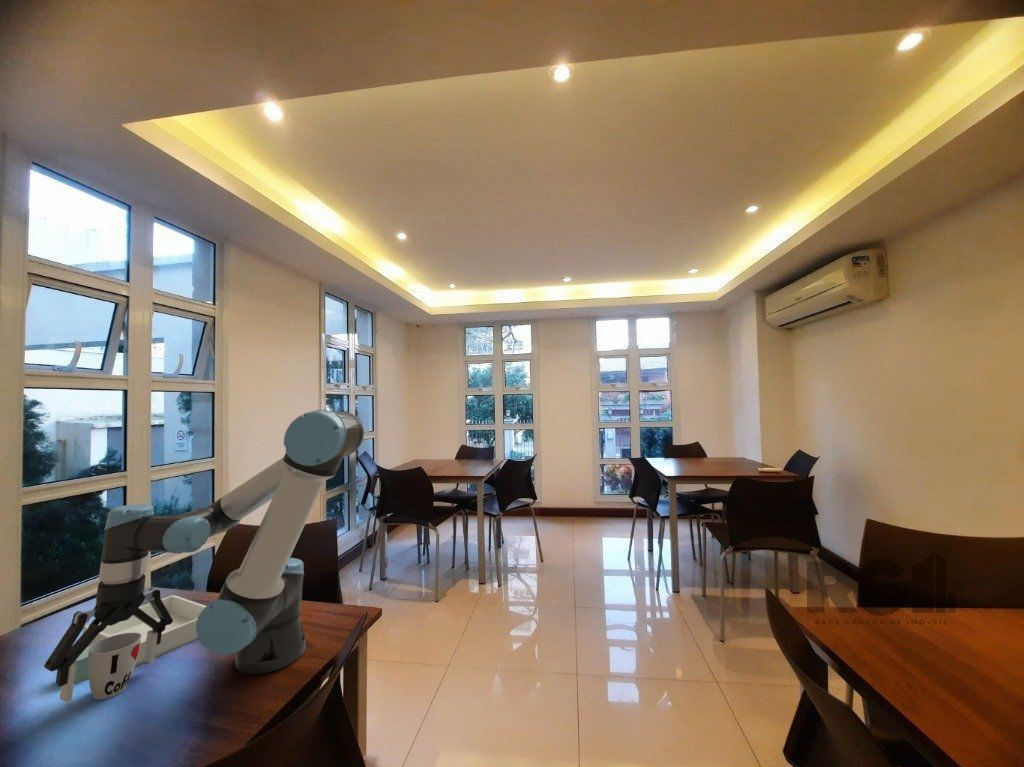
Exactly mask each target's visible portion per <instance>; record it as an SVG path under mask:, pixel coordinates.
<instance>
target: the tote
mask: <svg viewBox="0 0 1024 767" xmlns="http://www.w3.org/2000/svg"><path fill="white" fill-rule="evenodd" d="M160 599H161V600H162V602H163V604H164V606H165V607H166V609H167V611H168V613H169V614H170V616H171V618H172V619H173V622H172V623H171V624H170V625H167V626H165V630H164V631H163V632H162V634H161V642H160V644H158V645H156V653H155V659H156V658H157V657H158V658H159V657H160V656H162V655H165V654H166V653H168V652H172V651H173V650H176V649H178V648H180V647H182V646H184V645H186V644H188V643H191V642H193V641H194V640H197V639H200V638H199V637H198V636H197V632H196V623H197V619H198V616H199V614H200V613H201V611H202V610H203V609H204V608H205V607H206V606H207V605H205V604H201V603H198V602H196V601H194V600H190V599H187V598H183V597H181V596H179V595H175V594H172V595H169V596H167V597H163V598H160ZM139 608H140V609H141V610H142V611H144V612H145V613H146V614H147V615H149V616H150V617H152V618H153V619H154V620H156V621H157V622H159V621H160V619H159V617H158V615H157V614H156V612H155V610H154V609H153V607H152V605H151V604H150V602H149V603H147V604H143V605H140V607H139ZM90 624H91V623H89V624H85V626H84V628H83V630H82V634H83V633H84V632H85V631H86V630H87V629H88V627H89V625H90ZM100 624H101V622H100V623H99V625H100ZM150 630H153V629H152V628H151V627H149V626H148V625H146V624H145V623H143V622H142V621H141V620H139V619H138V618H136V617H135V616H133V615H132V616H131V617H130V618H129V619H128V620H125V621H120V622H118V623H116V624H114V625H112V626H110V625H108V626H107V627H106V628H105V629H104V630H103V631H102V632H100V633H99V634H98V635H97V636H96V637H95V639H94V640H93V641H92V642H91V643H90V644H89V645H88V647H89V646H91V645H93V644H95V643H97V642H99V641H101V640H103V639H105V638H108V637H111V636H114V635H118V634H123V633H131V632H135V633H139V634H141V640H140V646H139V652H138V657H137V660H136V664H135V667H134V668H136V667H138V666H140V665H143V664H145V663H147V662H146V661H144V655H145V646H146V638H147V631H150Z"/></svg>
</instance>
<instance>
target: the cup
mask: <svg viewBox="0 0 1024 767" xmlns="http://www.w3.org/2000/svg"><path fill="white" fill-rule="evenodd" d="M140 640H141V634H139V633H135V632H131V633H123V634H118V635H114V636H111V637H108V638H105V639H103V640H101V641H99V642H97V643H95V644H93V645H92V646H91V647H90V648H89V650H88V676H89V678H88V681H89V688H90V690H91V691H90V692H91V694H92V696H93V698H94V700H104V699H109V698H112V697H114V696H117V695H119V694H121V693H122V692H123V691H125V690H126V688H127V687H128V685H129V682H130V680H131V678H132V676H133V674H134V671H135V668H136V667H135V664H136V660H137V657H138V652H139V646H140Z"/></svg>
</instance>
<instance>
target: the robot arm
mask: <svg viewBox="0 0 1024 767" xmlns="http://www.w3.org/2000/svg"><path fill="white" fill-rule="evenodd" d="M364 435H365V430H364V425H363V423H362V422H361V421H360V419H359V418H358V416H356V415H355V414H353V413H351V412H348V411H343V410H328V409H317V410H312V411H309V412H305V413H303V414H301V415H299V416H297V417H296V418H295V419H294V420H292V421H291V423H290V424H289V425H288V426H287V429H286V430H285V433H284V439H283V446H285V453H284V456H283V457H281V458H280V459H278V460H276V461H275V462H273V463H272V464H271V465H269V466H268V467H266V468H265V469H262V470H261V471H260V472H258V473H257V474H255V475H254V476H252V477H251V478H249V479H248V480H246V481H245V482H243V483H241V484H240V485H238V486H237V487H235V488H234V489H233V490H230V491H229V492H228V493H226V494H224V495H223V496H222V497H221V498H219V499H217V500H216V501H214V502H213V503H211V504H209V505H207V506H204V507H201V508H197V509H195V510H192V511H187V512H185V513H181V514H178V515H174V516H173V515H172V516H171V515H166V516H165V515H164V516H163V515H155V512H154V508H155V507H154V506H153V505H152V504H148V503H144V504H143V503H139V504H138V503H137V504H126V505H122V506H117V507H115V508H113V509H111V510H110V511H109V512H108V513H107V517H106V518H107V519H106V521H105V527H104V532H103V533H104V534H103V544H102V545H103V546H102V554H101V561H100V568H99V576H98V581H100V582H99V583H98V585H97V591H96V599H95V606H94V608H93V609H90V610H87V611H81V610H79V611H76V612H75V613H74V614H73V616H72V620H71V624H69V625H70V626H69V627H68V629H67V630H66V631H65V633H64V634H63V636H62V637H61V639H60V640H59V642H58V643H57V645H56V647H55V648H54V649H53V651H52V653H50V655H49V657H48V658H47V660H46V661H45V663H44V665H43V667H44V668H45V669H46V670H48V671H50V672H55V671H56V675H55V676H56V677H55V684H56V685H57V687H58V686H59V687H60V693H59V700H61V701H63V702H64V703H67V704H68V703H69V702H72V700H73V699H72V698H73V692H74V685H75V684H74V678H75V670H76V666H75V665H73V663H74V661H75V660H76V659H77V658H78V657H79V656H80V655H81V653H82V652H83V651H84V650H85V649H86V648H87V647H88V645H89V644H90V643H91V642H92V641H93V640H94V639H95V637H96V636H97V635H98V634H99V633H100V632H102V631H103V630H104V629H105V628H106V627H107V626H108V625H110V626H112V625H114V624H116V623H118V622H120V621H125V620H128V619H129V618H130V617H131V616H132V615H133V616H135V617H136V618H138V619H139V620H141V621H142V622H143V623H145V624H146V625H148V626H149V627H151V628H152V629H153V630H150V631H147V638H146V646H145V655H144V661H146V662H145V663H148V664H150V665H151V664H154V663H155V660H156V658H155V653H156V645H158V644H160V642H161V634H162V632H163V631H164V630H165V626H167V625H170V624H171V623H172V622H173V619H172V618H171V616H170V614H169V613H168V611H167V609H166V607H165V606H164V604H163V602H162V600H161V599H162V598H161V590H160V589H157V588H154V587H151V588H149V589H148V591H146V592H144V590H145V588H146V587H145V584H146V575H145V573H147V568H148V560H149V559H148V558H149V552H151V553H152V552H153V553H167V554H168V553H170V554H171V553H172V554H179V555H180V554H184V553H185V554H186V553H187V554H188V553H194V552H197V551H198V550H200V549H201V548H202V546H203V545H205V544H206V543H207V541H208V539H209V538H212V537H214V536H217V535H220V534H221V533H226V532H227V531H229V530H231V529H233V528H234V527H236V526H238V524H239V523H240V522H241V520H242V519H244V518H246V517H247V516H249V515H251V514H252V513H253V512H255V511H257V510H258V509H260V508H261V507H262V506H264V505H265V504H267V503H269V502H270V503H269V505H268V507H267V509H266V512H265V514H264V516H263V517H262V520H261V521H260V522H261V523H260V524H259V526H258V529H257V531H256V533H255V535H254V537H253V539H252V541H251V543H250V546H249V548H248V550H247V553H245V554H246V555H245V556H244V558H243V561H242V563H241V565H240V566H239V568H237V569H235V570H233V571H231V572H230V573H229V574H228V575H227V577H226V580H225V581H224V583H223V586H222V587H221V590H220V591H219V594H218V596H217V597H216V599H214V600H212V601H211V602H209V603H208V604H207V605H205V606H206V607H205V608H204V609H203V610H202V611H201V613H200V614H199V616H198V619H197V623H196V632H197V636H198V637H199V638H198V639H199V640H200V644H201V645H202V646H203V647H204V648H205V649H206V650H207V651H209V652H210V653H213V654H216V655H219V656H220V655H222V656H228V655H232V654H235V661H234V662H235V663H234V665H235V666H234V667H235V669H236V670H237V671H238V672H239V673H242V674H248V675H259V674H266V673H271V672H274V671H277V670H280V669H283V668H285V667H287V666H289V665H291V664H293V663H295V661H297V660H298V659H299V658H300V657H302V655H303V654H304V652H305V651H306V645H307V644H306V642H307V639H306V638H307V637H306V634H305V630H304V627H303V624H302V620H301V608H302V599H303V598H302V597H303V584H304V583H303V582H304V575H305V572H304V566H305V565H304V562H303V561H302V560H301V559H299V558H295V557H291V556H292V554H293V551H294V549H295V548H296V544H297V543H298V540H299V538H300V536H301V534H302V532H303V530H304V527H305V525H306V523H307V521H308V519H309V517H310V514H311V512H312V510H313V508H314V505H315V503H316V501H317V499H318V497H319V496H320V495H319V494H320V493H321V491H322V488H323V486H324V484H325V483H326V481H327V480H329V479H332V478H334V477H335V476H336V475H337V472H338V470H339V468H340V466H341V463H342V461H343V459H344V458H345V457H348V456H350V455H351V454H354V453H355V452H356V451H357V450H358V449H359V448H360V447H361V446H362V444H363V442H364V438H365V436H364ZM145 600H146V601H148V602H149V603H150V604H151V605H152V607H153V609H154V610H155V612H156V614H157V615H158V617H159V619H160V621H159V622H157V621H156V620H154V619H153V618H152V617H150V616H149V615H147V614H146V613H145V612H144V611H142V610H141V609H140V608H139V607H140V606H142V604H143V603H144V602H145ZM92 617H94V619H93V620H92V621H91V623H89V621H90V619H92ZM100 622H101V624H100V625H99V623H100ZM88 623H89V624H90V625H89V624H88ZM86 624H88V625H89V627H88V629H87V630H86V631H85V632H84V633H83V628H84V626H86ZM81 634H82V635H81ZM80 635H81V636H80ZM78 637H79V638H78Z"/></svg>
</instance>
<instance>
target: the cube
mask: <svg viewBox="0 0 1024 767" xmlns="http://www.w3.org/2000/svg"><path fill="white" fill-rule="evenodd" d="M91 646H92V645H91ZM91 646H89V647H87V648H86V649H85V650H84V651H83V652H82V653H81V655H80V656H79V657H78V658H77V659H76V660H75V661H74V663H73V665H75V666H76V670H75V678H74V685H77V684H79V683H81V682H83V681H86V680H89V676H88V650H89V648H90V647H91Z"/></svg>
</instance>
